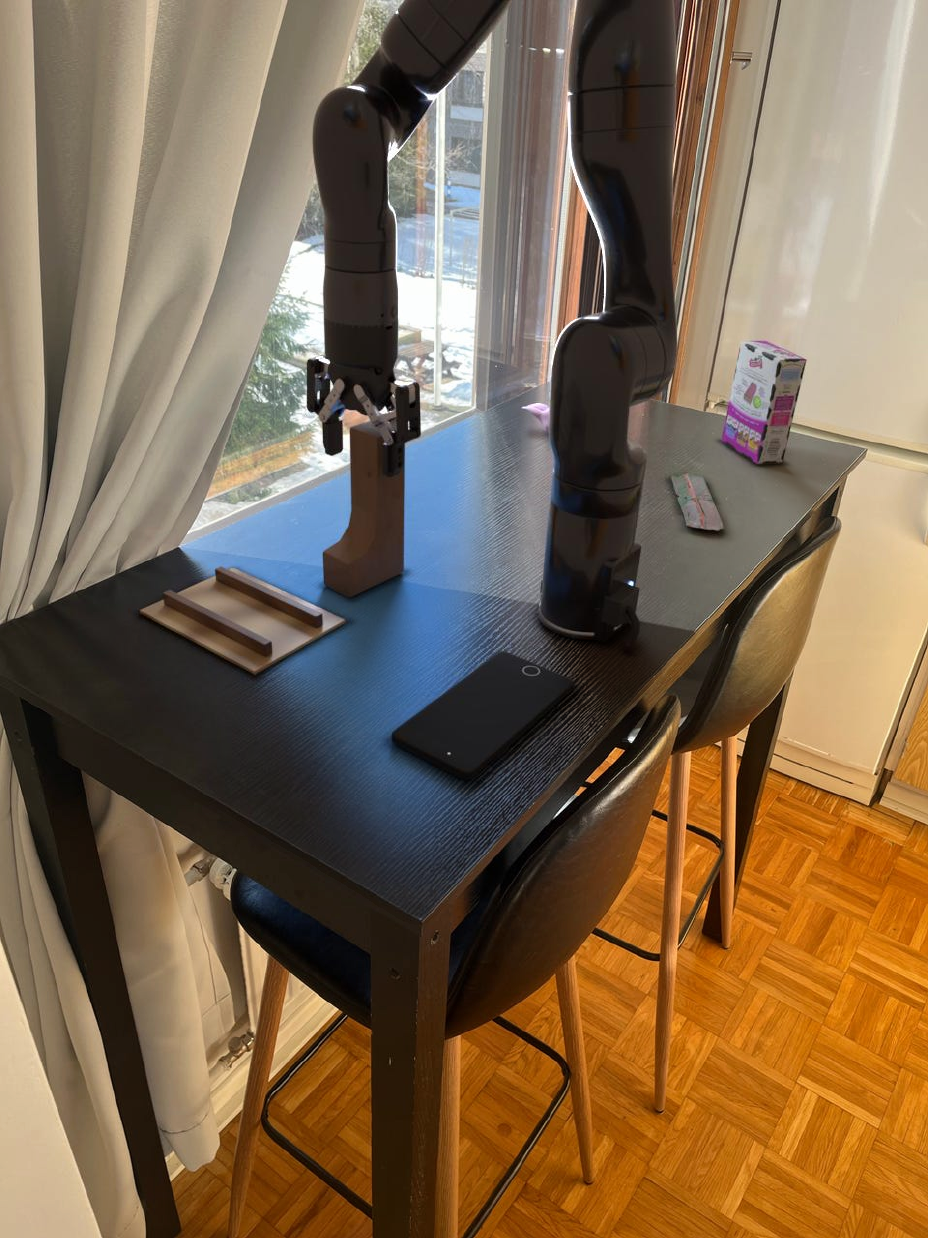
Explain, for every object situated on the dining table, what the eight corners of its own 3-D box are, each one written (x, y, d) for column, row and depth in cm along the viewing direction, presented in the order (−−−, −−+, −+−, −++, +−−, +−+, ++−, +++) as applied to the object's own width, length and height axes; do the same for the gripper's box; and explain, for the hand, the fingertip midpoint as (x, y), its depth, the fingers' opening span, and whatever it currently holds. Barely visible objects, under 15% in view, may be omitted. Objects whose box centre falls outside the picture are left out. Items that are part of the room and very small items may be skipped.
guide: (345, 622, 102) (345, 607, 101) (254, 674, 93) (253, 658, 92) (233, 570, 111) (231, 555, 110) (140, 613, 102) (137, 598, 101)
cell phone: (576, 688, 93) (577, 680, 93) (468, 783, 80) (469, 775, 80) (501, 656, 97) (502, 649, 97) (388, 742, 85) (388, 734, 84)
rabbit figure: (604, 449, 153) (534, 412, 161) (613, 416, 150) (542, 379, 157) (580, 459, 149) (510, 420, 157) (589, 425, 146) (517, 386, 153)
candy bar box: (784, 463, 148) (809, 358, 139) (757, 466, 146) (779, 360, 138) (746, 438, 157) (766, 338, 148) (719, 440, 156) (738, 340, 147)
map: (701, 478, 142) (702, 472, 142) (726, 531, 124) (727, 525, 124) (668, 476, 143) (668, 470, 142) (688, 529, 125) (689, 522, 124)
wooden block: (349, 599, 106) (345, 447, 97) (322, 585, 109) (316, 436, 100) (405, 573, 112) (406, 427, 103) (378, 560, 115) (377, 416, 106)
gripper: (284, 305, 96) (291, 456, 104) (389, 333, 89) (388, 492, 97) (335, 294, 101) (339, 438, 110) (440, 319, 94) (434, 472, 103)
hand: (362, 463), depth 103 cm, fingers open, 8 cm apart
